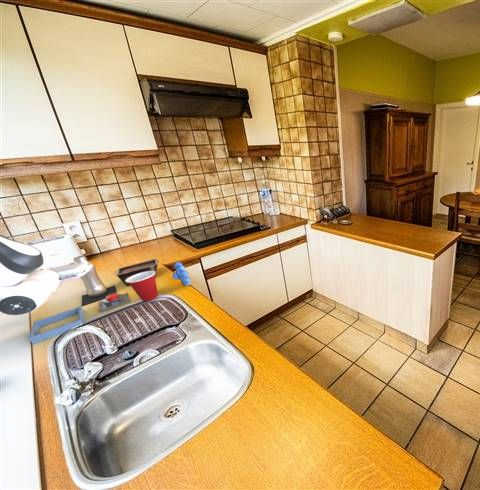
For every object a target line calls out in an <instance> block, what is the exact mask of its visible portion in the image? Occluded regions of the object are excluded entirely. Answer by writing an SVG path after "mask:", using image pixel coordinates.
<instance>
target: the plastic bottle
mask: <svg viewBox="0 0 480 490" xmlns="http://www.w3.org/2000/svg"><path fill="white" fill-rule="evenodd" d="M72 260H73V262H77V263H80V262H86V263H87V264H88V266H89V268H90V270H89V271H88V272H87V273H86V274H85V275H83V276H81V277H79V278H80V280H81V281H82V282H83V285H84V288H85V292H86V294H88V295H89V296H91V297H96V296H100V295H102V294H104V293H106V291H107V289H106V288H107V286H106V285H105V284H104V283H103V280H101V278H100V276H99V274H98V272H97V268H96V265H95V264H94V263H93V262H92V261H89V260H88V258H87V257H86V256H85V255H79V256H75V257H73V259H72Z"/></svg>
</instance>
